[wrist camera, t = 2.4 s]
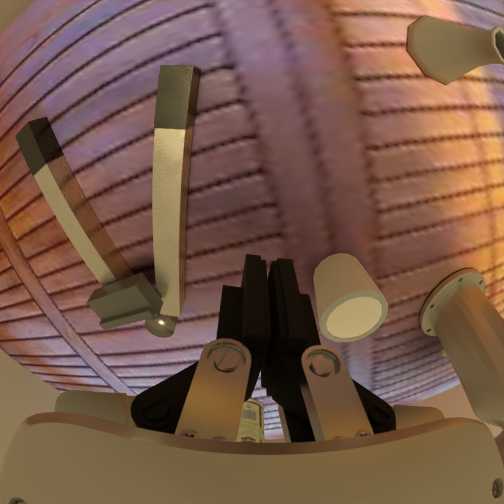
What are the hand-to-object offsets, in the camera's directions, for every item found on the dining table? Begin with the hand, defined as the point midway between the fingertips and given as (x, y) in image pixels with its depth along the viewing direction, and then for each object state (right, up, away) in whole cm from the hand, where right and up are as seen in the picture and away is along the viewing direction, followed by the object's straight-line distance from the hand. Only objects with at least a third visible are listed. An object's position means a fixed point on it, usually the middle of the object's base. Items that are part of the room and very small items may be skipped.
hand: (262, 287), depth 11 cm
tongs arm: (-7, +6, +14) cm, 17 cm away
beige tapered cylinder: (+9, -1, +19) cm, 21 cm away
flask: (+17, +21, +5) cm, 28 cm away
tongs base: (-16, +4, +15) cm, 23 cm away
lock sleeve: (-13, -3, +16) cm, 21 cm away
